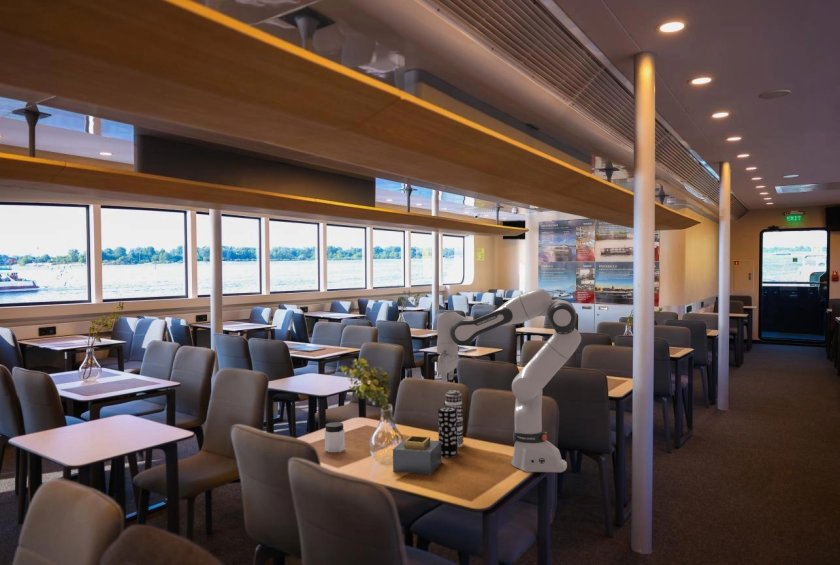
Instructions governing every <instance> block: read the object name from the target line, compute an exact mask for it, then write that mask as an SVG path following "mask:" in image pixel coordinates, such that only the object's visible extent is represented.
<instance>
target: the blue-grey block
mask: <svg viewBox="0 0 840 565" xmlns="http://www.w3.org/2000/svg"><path fill="white" fill-rule="evenodd" d="M442 459H443V457H442V456H441V441H439V440H431V437H430V436H422V435H420V436H419V435H410V436H409V437H408V438H405V439H403V440H402V441H401V442H400V443H399V444H397V446H395V447H393V449H392V472H397V473H406V474H417V475H418V474H419V475H428V476H431V475H432V474H433V473H434V471H435V470H437V468H438V467H439V466H440V465H441V464H442V461H443V460H442Z"/></svg>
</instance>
